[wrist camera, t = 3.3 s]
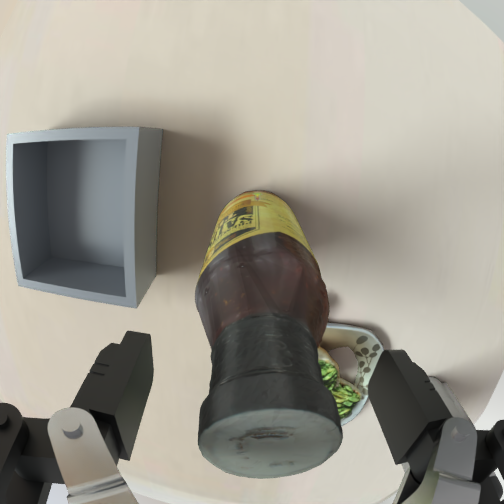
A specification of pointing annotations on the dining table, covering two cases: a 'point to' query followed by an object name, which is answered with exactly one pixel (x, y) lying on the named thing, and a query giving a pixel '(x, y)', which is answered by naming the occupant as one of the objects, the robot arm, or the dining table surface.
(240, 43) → the dining table surface
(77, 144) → the bottle caddy
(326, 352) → the salad plate
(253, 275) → the sauce bottle
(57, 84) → the dining table surface
